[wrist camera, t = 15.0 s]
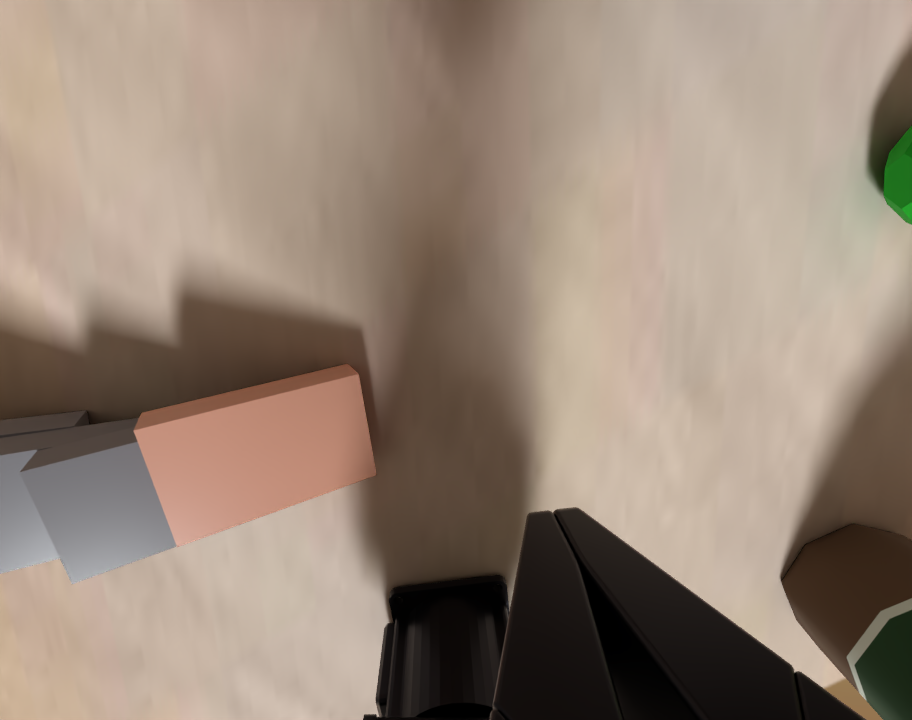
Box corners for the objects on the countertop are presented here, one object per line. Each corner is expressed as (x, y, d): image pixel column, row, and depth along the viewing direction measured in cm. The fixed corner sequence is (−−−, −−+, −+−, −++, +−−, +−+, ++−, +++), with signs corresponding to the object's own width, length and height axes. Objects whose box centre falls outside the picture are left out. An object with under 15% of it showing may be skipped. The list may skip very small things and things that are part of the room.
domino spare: (358, 374, 18) (133, 430, 15) (376, 475, 20) (177, 547, 16) (347, 363, 20) (141, 412, 16) (365, 458, 21) (180, 520, 18)
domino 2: (263, 409, 18) (19, 472, 15) (288, 506, 20) (72, 584, 16) (259, 396, 20) (37, 450, 16) (282, 487, 21) (83, 555, 18)
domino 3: (164, 429, 18) (-118, 474, 14) (182, 527, 20) (-70, 591, 16) (167, 413, 20) (-87, 450, 16) (183, 505, 21) (-46, 559, 17)
